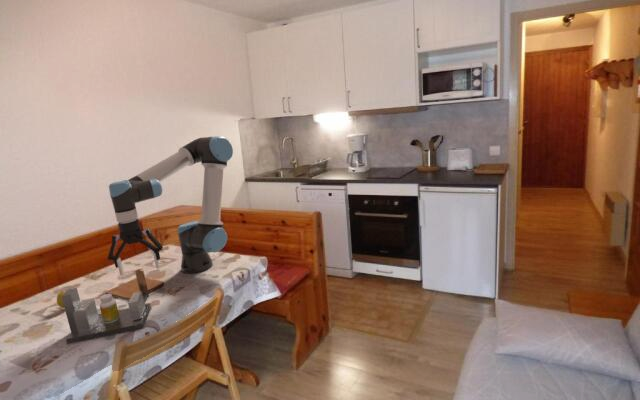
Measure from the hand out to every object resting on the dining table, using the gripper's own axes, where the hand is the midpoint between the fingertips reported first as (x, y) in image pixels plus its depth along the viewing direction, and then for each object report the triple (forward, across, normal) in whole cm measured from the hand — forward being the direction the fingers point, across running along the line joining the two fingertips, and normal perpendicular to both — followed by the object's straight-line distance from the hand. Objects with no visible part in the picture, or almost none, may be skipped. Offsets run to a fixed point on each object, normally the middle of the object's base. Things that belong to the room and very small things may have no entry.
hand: (140, 270), depth 158 cm
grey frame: (+14, +10, +13) cm, 22 cm away
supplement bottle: (+12, +10, +13) cm, 21 cm away
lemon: (+14, +34, -12) cm, 39 cm away
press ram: (+12, 0, +8) cm, 15 cm away
